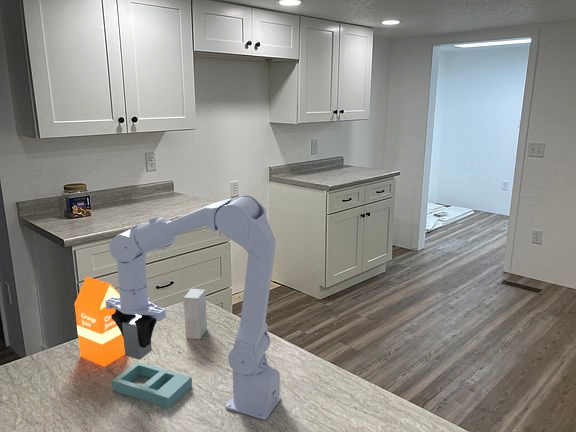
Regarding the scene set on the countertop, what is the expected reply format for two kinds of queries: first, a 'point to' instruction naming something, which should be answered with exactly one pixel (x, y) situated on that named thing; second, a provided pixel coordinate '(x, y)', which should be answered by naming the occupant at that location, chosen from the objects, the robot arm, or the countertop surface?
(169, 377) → the holder
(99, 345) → the orange juice
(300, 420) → the countertop surface
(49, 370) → the countertop surface
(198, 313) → the skincare box
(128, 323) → the peg
